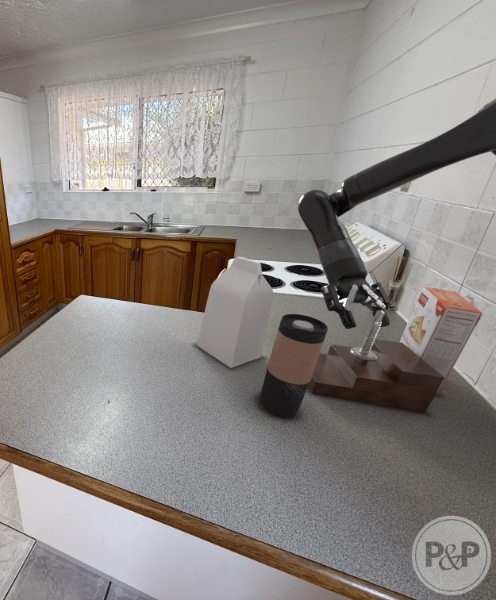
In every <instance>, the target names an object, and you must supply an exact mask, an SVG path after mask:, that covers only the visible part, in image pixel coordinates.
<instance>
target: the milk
mask: <svg viewBox="0 0 496 600" xmlns="http://www.w3.org/2000/svg"><path fill="white" fill-rule="evenodd" d="M273 298H274V290H273V288H272V286H271V285H270V283H269V282H268V281H267V279H266V278H265V276H264V275H263V271H262V264H261V262H260V261H258V260H255V259H254V260H253V259H250V258H246V257H243V256H236V257H235V258H234V260H233V261H232V262H231V264H230V266H229V267H228V268H226V269H225V271H223V272H222V273H221V274H220V275H219V276H218V277H216V279H214V280H213V282H212V283H211V285H210V288H209V292H208V296H207V300H206V305H205V309H204V313H203V317H202V322H201V325H200V330H199V334H198V339H197V343H196V346H197V347H198V348H199V349H201V350H203V351H204V352H206V353H207V354H209V355H210V356H212V357H213V358H215V359H216V360H218V361H220V362H221V363H222V364H224V365H225V366H227V367H229V368H230V369H232V368H236V367H238V366H240V365H244V364H246V363H249V362H251V361H254V360H257V359H260V358H262V355H263V349H264V345H265V341H266V340H265V339H266V335H267V330H268V324H269V319H270V314H271V309H272V303H273Z"/></svg>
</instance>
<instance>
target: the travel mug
mask: <svg viewBox="0 0 496 600" xmlns="http://www.w3.org/2000/svg"><path fill="white" fill-rule="evenodd" d="M328 329H329V328H328V325H327V324H326V323H325V322H323V321H322V320H320V319H317V318H316V317H312V316H309V315H305V314H299V313H288V314H287V313H286V314H284V315H282V316H281V318H280V321H279V325H278V329H277V332H276V335H275V339H274V342H273V345H272V348H271V353H270V356H269V359H268V362H267V366H266V369H265V375H264V379H263V384H262V387H261V392H260V396H259V404H260V406H261V407H262V409H264V411H266V412H267V413H269V414H271V415H272V416H275V417H278V418H282V419H292V418H295V417H296V416H297V415H298V413H299V411H300V408H301V405H302V403H303V400H304V398H305V396H306V393H307V390H308V389H309V387H308V386H309V383H310V380H311V378H312V375H313V372H314V369H315V366H316V363H317V360H318V357H319V354H320V353H321V351H322V348H323V345H324V341H325V339H326V336H327V333H328Z"/></svg>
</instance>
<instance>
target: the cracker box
mask: <svg viewBox="0 0 496 600" xmlns="http://www.w3.org/2000/svg"><path fill="white" fill-rule="evenodd" d="M483 314H484V313H483V311H481V310H479V309H478V308H477V307H476V306H474V305H473V304H472V303H471V302H469V301H468V300H467V299H466V298H464V297H463V296H462V295H461V294H459V292H457V291H455V290H448V289H442V288H436V287H430V286H429V287H427V286H425V287H423V288H422V290H421V292H420V295H419V298H418V299H417V301H416V304H415V307H414V309H413V310H412V313H411V316H410V317H409V319H408V322H407V324H406V326H405V329H404V331H403V332H402V333H403V334H402V336H401V338H400V340H399V342H401V343H403V344H405V345H406V346H407V347H408V348H409V349H411V350H412V351H413V352H414V353H416V354H417V355H418V356H419V357H420V358H422V359H423V360H424V361H425V362H426V363H428V364H429V365H430V366H431V367H433V368H434V369H435V370H436V371H437V372H439V373H440V374H441V375H442V376H443V377H445V378H444V380H443V382H442V383H441V385H440V387H439V389H438V391H437V393H436V394H435V395H439V394H440V393H441V391H442V389H443V387H444V385H445V383H446V381H447V380H448V378H449V376H450V374H451V372H452V371H453V368H454V367H455V365H456V363H457V362H458V359H459V358H460V356H461V355H462V352H463V351H464V349H465V347H466V345H467V343H468V341H469V339H470V338H471V336H472V334H473V332H474V331H475V329H476V327H477V325H478V324H479V321H480V320H481V318H482V316H483Z"/></svg>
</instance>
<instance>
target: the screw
mask: <svg viewBox="0 0 496 600" xmlns="http://www.w3.org/2000/svg"><path fill="white" fill-rule="evenodd" d="M383 316H384V312H383V311H382V310H379V311H377V312H376V314H375V317H374V316H373V319H372V320H371V321H370V323H369V324H370V325H368V327H367V330H366V331H367V332H365V335H364V337H363V338H364V339H363V341H361V342H362V343H361V345H360V347H356V346H355V348H351V349H350V353H351V354H352V355H354V361H355V362H357V363H359V364H367V363H368V361H374V360H376V359H377V356H376V355H375V354H374V353H373V352H371V351H370V349H371V347H372V345H373V342H374V340H375V339H377V336H378V333H379V331H380V329H381V327H380V326H381V323H382V321H381V320H382V318H383Z"/></svg>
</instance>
